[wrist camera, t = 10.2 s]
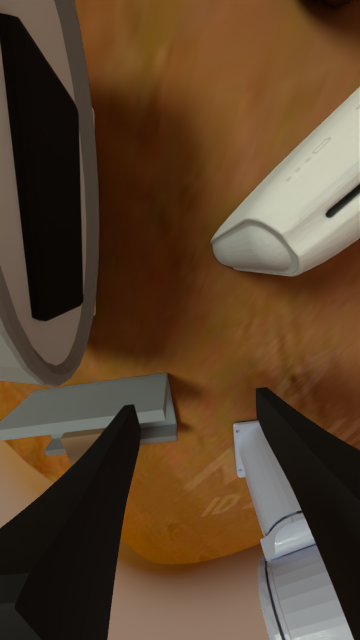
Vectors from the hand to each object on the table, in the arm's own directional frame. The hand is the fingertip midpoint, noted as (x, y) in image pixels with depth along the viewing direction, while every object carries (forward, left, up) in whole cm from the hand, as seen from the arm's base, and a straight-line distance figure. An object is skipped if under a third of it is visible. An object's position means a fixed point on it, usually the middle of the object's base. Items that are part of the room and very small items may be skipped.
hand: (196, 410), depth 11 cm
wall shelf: (-8, +11, -10) cm, 17 cm away
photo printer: (+11, -8, -10) cm, 17 cm away
